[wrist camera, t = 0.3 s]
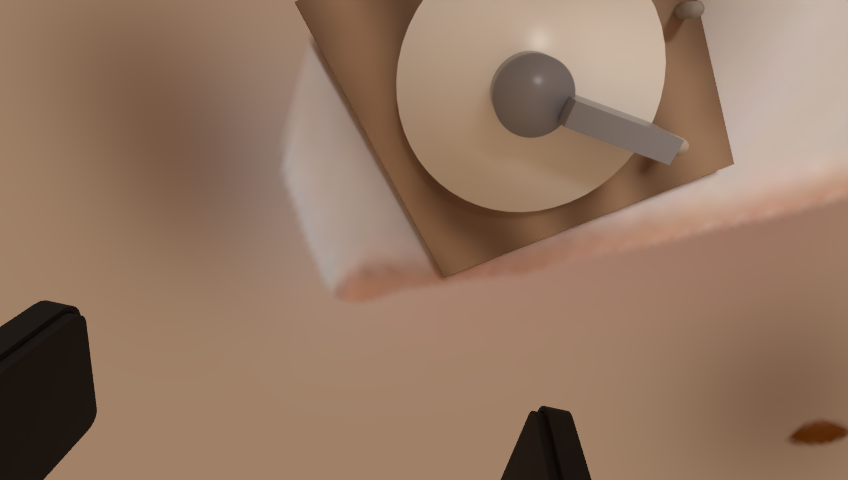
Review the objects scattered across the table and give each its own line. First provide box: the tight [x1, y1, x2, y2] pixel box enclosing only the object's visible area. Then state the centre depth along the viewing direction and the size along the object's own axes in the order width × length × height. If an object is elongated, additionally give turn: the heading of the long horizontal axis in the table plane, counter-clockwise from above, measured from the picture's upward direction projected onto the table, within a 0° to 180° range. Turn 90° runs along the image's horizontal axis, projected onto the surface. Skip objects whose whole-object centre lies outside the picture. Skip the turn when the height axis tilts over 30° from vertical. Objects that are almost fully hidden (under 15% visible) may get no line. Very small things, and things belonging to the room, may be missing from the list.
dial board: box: [295, 0, 734, 277], centre depth 32 cm, size 24×24×6 cm
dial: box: [396, 0, 684, 212], centre depth 30 cm, size 18×18×6 cm
